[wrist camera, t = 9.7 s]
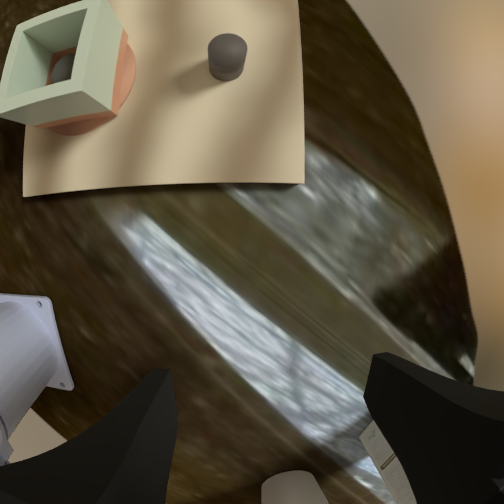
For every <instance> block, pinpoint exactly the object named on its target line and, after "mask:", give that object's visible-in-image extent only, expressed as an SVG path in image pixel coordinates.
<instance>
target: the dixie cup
mask: <svg viewBox="0 0 504 504" xmlns="http://www.w3.org/2000/svg"><path fill="white" fill-rule="evenodd" d="M261 503H262V504H329V503H328V501H327V500H326V498H325V496H324V494H323V492H322V491H321V489H320V487H319V485H318V483H317V481H316V480H315V478H314V476H313V475H312V474H311V473H309V472H306V471H300V470H296V471H288V472H283V473H280V474H277V475H274V476H272V477H270V478H269V479H267V480H266V481H265V482H264V483H263V484H262V487H261Z"/></svg>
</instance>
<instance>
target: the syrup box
mask: <svg viewBox="0 0 504 504" xmlns="http://www.w3.org/2000/svg"><path fill="white" fill-rule="evenodd" d="M359 439H360V441H361V442H362V444H363V446H364V447H365V449H366V451H367V453H368V454H369V456H370V458H371V459H372V461H373V463H374V465H375V467H376V468H377V470H378V472H379V473H380V475H381V477H382V479H383V480H384V482H385V484H386V485H387V487H388V489H389V491H390V492H391V494H392V496H393V497H394V499H395V501H396V503H397V504H417V502H416V499H415V497H414V494H413V491H412V489H411V486H410V483H409V481H408V479H407V476H406V474H405V472H404V470H403V468H402V465H401V463H400V462H399V460H398V458H397V456H396V455H395V453H394V452H393V450H392V448H391V447H390V445H389V444H388V442H387V441H386V439H385V437H384V436H383V434H382V433H381V431H380V430H379V428H378V426H377V425H376V423H375V422H374V420H372V421H371V423H370V424H369V425H368V426H367V427H366V429H365V430H364V431H363V432H362V433H361V435H359Z"/></svg>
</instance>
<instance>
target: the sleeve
mask: <svg viewBox="0 0 504 504" xmlns="http://www.w3.org/2000/svg"><path fill="white" fill-rule="evenodd" d="M127 41H128V35H127V33H126V31H125V30H124V28H123V26H122V25H121V23H120V21H119V20H118V18H117V16H116V15H115V13H114V11H113V10H112V8H111V6H110V5H109V3H108V1H107V0H83V1H79V2H76V3H73V4H70V5H67V6H64V7H61V8H58V9H55V10H53V11H50V12H47V13H45V14H42V15H40V16H37V17H35V18H32V19H30V20H28V21H26V22H23V23H21V24H19V25H17V27H16V30H15V33H14V36H13V39H12V42H11V45H10V48H9V52H8V55H7V59H6V62H5V66H4V70H3V74H2V79H1V83H0V117H1V118H5V119H8V120H12V121H15V122H19V123H23V124H26V125H29V126H33V127H36V128H40V129H44V128H49V127H53V126H58V125H63V124H68V123H73V122H79V121H84V120H90V119H97V118H103V117H110V116H118V108H119V98H120V88H121V80H122V72H123V65H124V58H125V52H126V46H127ZM68 54H76V55H75V60H74V65H73V70H72V75H71V79H70V80H66V81H62V82H58V83H54V82H53V80H52V71H53V68H54V66H55V65H56V63H57V62H58V61H59V60H60V59H61V58H62V57H64V56H66V55H68Z"/></svg>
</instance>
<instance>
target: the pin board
mask: <svg viewBox="0 0 504 504" xmlns="http://www.w3.org/2000/svg"><path fill="white" fill-rule="evenodd" d="M107 1H108V3H109V5H110V6H111V8H112V10H113V11H114V13H115V15H116V16H117V18H118V20H119V21H120V23H121V25H122V26H123V28H124V30H125V31H126V33H127V35H128V41H127V46H126V52H125V58H124V65H123V72H122V80H121V88H120V98H119V108H118V116H110V117H103V118H97V119H90V120H84V121H79V122H73V123H68V124H63V125H58V126H53V127H49V128H44V129H40V128H36V127H33V126H29V125H26V129H25V141H24V158H23V197H31V196H38V195H46V194H54V193H63V192H72V191H82V190H92V189H103V188H116V187H130V186H146V185H165V184H193V183H291V184H304V102H303V75H302V54H301V38H300V23H299V10H298V0H107ZM75 55H76V54H68V55H66V56H64V57H62V58H61V59H60V60H59V61H58V62H57V63H56V65H55V66H54V68H53V71H52V80H53V82H54V83H58V82H62V81H66V80H70V79H71V75H72V70H73V65H74V60H75Z"/></svg>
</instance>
